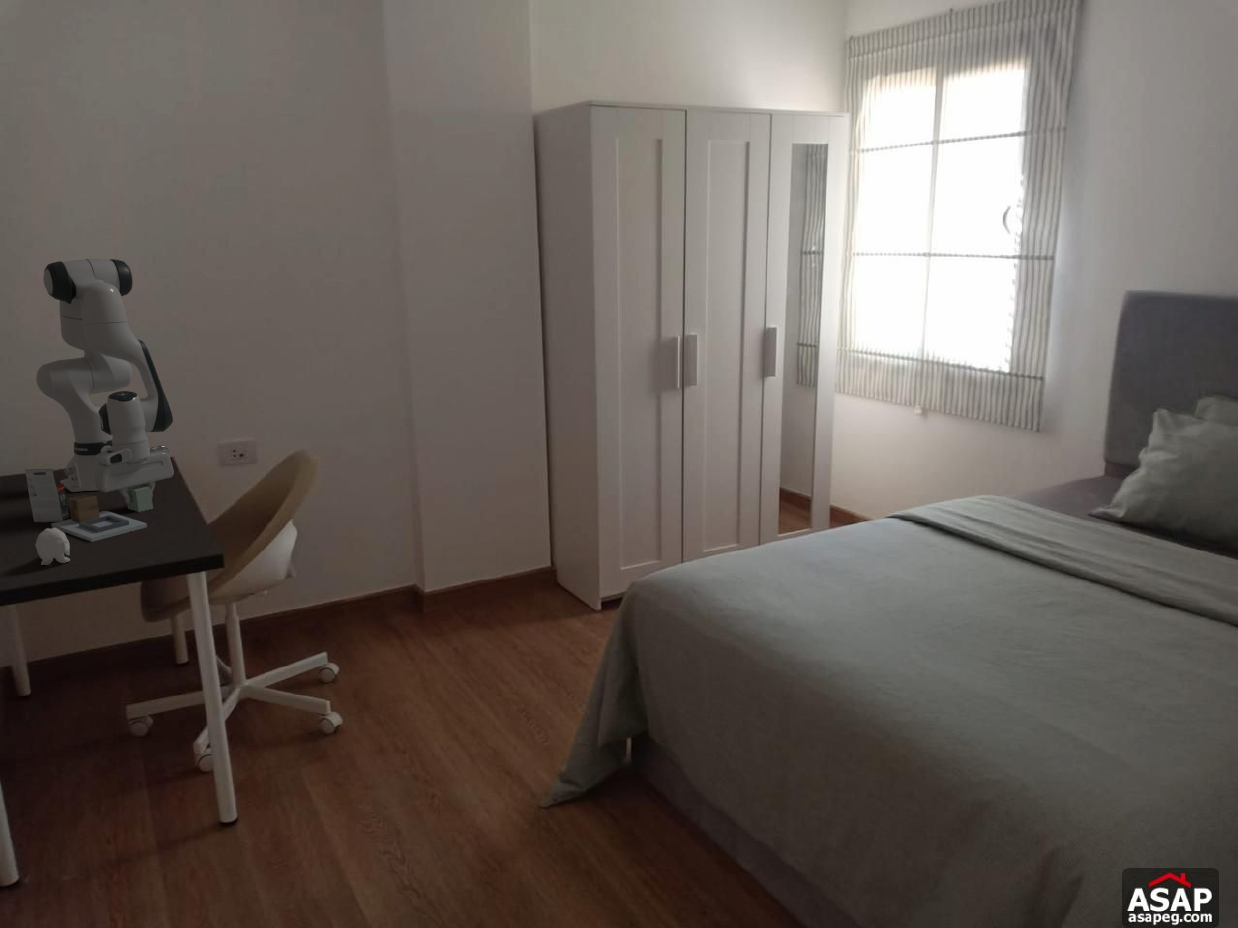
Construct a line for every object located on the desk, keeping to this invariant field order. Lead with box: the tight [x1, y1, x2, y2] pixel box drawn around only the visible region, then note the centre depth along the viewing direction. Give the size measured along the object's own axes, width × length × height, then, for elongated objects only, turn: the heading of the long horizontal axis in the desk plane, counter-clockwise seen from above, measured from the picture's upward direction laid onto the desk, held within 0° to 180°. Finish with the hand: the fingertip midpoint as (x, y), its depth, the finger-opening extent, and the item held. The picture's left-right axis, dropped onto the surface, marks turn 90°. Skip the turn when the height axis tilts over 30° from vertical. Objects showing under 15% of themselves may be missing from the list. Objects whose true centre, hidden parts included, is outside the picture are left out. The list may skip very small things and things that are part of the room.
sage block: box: [126, 484, 154, 513], centre depth 267 cm, size 6×4×6 cm, turn 53°
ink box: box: [25, 468, 71, 523], centre depth 257 cm, size 4×8×15 cm, turn 90°
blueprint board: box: [51, 493, 148, 543], centre depth 250 cm, size 22×14×7 cm, turn 53°
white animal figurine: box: [34, 527, 72, 566], centre depth 226 cm, size 6×8×12 cm
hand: (139, 500), depth 267 cm, fingers closed on sage block, 4 cm apart
